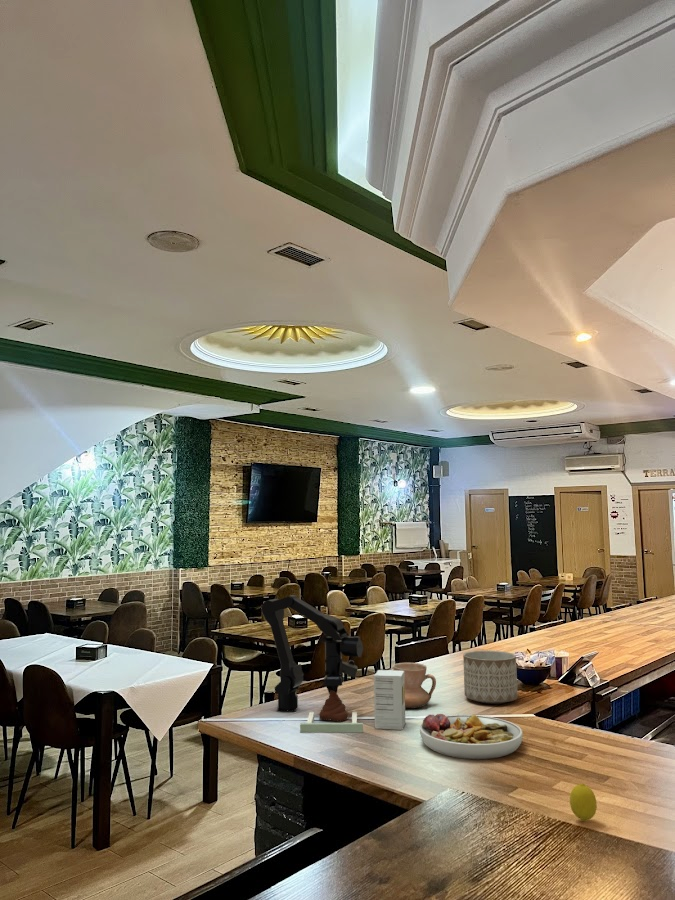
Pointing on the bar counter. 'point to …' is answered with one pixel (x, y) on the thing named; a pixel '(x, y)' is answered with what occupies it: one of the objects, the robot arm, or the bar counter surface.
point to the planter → (490, 676)
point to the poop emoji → (333, 708)
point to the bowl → (470, 736)
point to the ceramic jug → (415, 684)
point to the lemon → (583, 802)
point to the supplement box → (389, 699)
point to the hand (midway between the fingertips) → (333, 701)
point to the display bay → (330, 726)
